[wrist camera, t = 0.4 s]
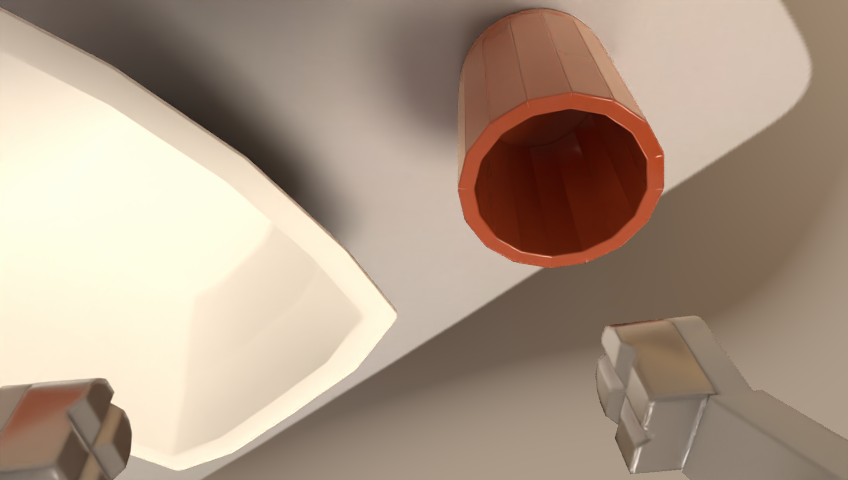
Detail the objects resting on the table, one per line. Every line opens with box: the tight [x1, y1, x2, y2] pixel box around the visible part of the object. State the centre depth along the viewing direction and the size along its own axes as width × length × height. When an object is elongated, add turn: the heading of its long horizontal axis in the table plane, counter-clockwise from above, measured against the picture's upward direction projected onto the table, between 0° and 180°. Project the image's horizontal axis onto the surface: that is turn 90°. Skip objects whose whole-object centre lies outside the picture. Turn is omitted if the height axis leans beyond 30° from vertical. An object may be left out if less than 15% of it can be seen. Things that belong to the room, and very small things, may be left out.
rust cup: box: [458, 9, 664, 268], centre depth 25 cm, size 7×7×10 cm
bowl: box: [0, 7, 397, 470], centre depth 31 cm, size 22×23×8 cm
